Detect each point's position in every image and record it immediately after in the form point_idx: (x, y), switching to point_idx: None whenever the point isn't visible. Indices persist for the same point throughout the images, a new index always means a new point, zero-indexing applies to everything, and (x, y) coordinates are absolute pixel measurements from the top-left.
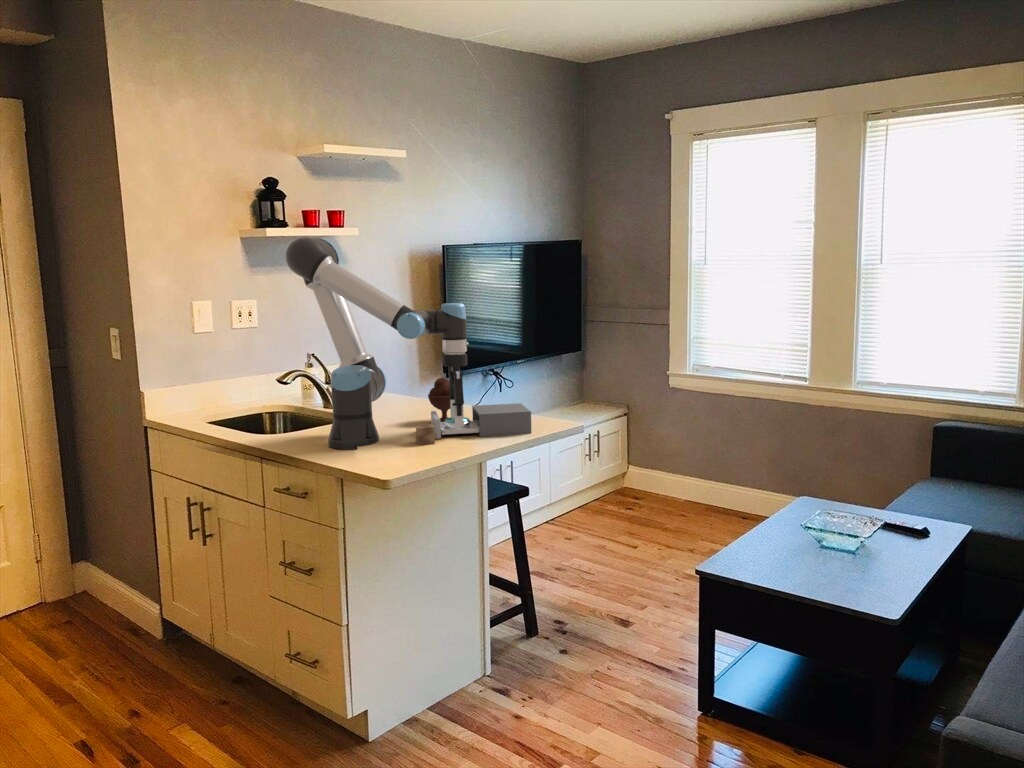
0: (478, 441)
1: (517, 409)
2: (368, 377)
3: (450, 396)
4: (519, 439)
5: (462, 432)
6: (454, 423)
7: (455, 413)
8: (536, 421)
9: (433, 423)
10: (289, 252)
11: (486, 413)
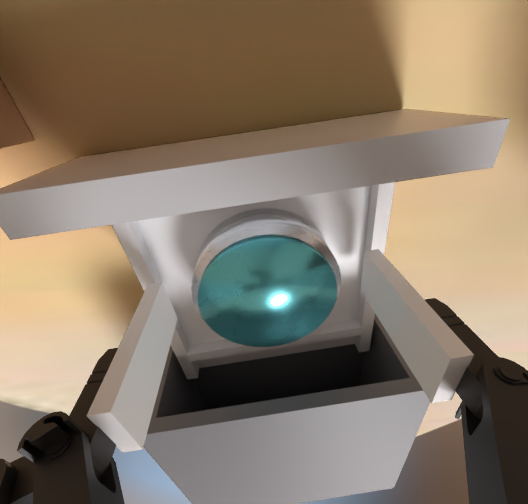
0: (72, 334)
1: (256, 497)
2: None
3: (505, 388)
4: None
5: None
6: (192, 284)
7: (119, 353)
8: None
9: (229, 146)
10: None
11: (162, 451)
